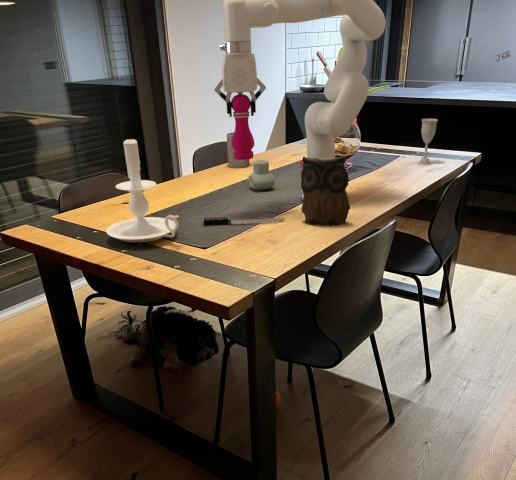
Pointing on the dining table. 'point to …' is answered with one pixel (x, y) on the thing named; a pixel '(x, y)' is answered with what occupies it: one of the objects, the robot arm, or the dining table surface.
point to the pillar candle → (231, 160)
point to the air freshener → (261, 176)
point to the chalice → (427, 136)
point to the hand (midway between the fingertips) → (241, 115)
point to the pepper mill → (242, 128)
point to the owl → (325, 191)
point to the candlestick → (140, 206)
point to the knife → (237, 221)
